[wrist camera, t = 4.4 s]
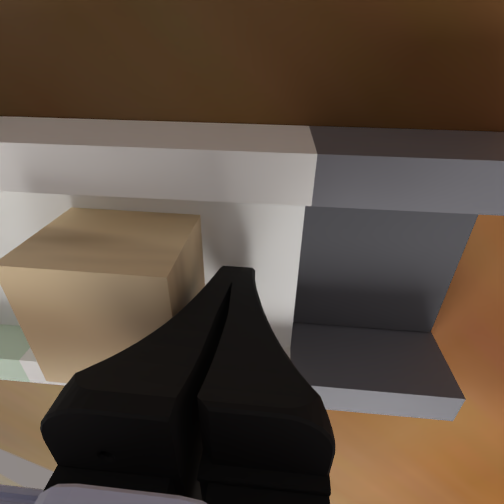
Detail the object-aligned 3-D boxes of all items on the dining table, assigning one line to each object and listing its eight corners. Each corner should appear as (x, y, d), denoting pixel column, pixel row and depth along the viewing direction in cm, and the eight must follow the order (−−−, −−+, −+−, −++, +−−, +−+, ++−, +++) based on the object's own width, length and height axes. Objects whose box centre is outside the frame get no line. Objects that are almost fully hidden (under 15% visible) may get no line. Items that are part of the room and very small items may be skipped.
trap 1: (427, 326, 17) (430, 332, 16) (292, 316, 17) (292, 322, 17) (487, 175, 12) (492, 179, 12) (307, 168, 13) (307, 171, 13)
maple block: (207, 315, 15) (183, 394, 11) (100, 307, 15) (46, 381, 12) (200, 214, 12) (167, 278, 9) (71, 207, 13) (-9, 265, 9)
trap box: (420, 348, 17) (453, 421, 14) (-161, 304, 20) (-255, 356, 16) (507, 132, 12) (598, 164, 8) (-326, 106, 14) (-522, 122, 11)
